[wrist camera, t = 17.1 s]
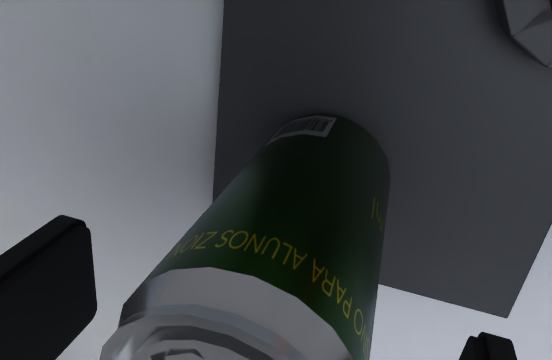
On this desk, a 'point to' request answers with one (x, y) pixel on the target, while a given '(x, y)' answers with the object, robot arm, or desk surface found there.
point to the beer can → (273, 258)
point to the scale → (412, 123)
